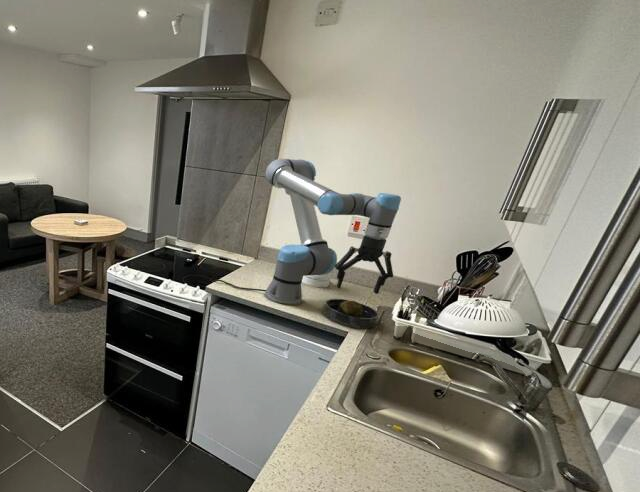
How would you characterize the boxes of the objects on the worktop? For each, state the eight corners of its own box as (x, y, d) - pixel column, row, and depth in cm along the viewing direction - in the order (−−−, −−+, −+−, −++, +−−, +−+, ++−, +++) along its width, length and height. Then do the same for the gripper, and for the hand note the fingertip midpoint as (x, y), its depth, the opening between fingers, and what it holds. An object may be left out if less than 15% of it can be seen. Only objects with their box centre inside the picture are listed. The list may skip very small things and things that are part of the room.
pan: (328, 324, 151) (331, 313, 149) (318, 305, 168) (320, 295, 167) (382, 333, 148) (386, 322, 146) (366, 312, 165) (369, 303, 163)
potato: (360, 315, 161) (366, 297, 158) (358, 325, 151) (365, 307, 148) (338, 309, 165) (343, 291, 162) (334, 319, 155) (340, 301, 151)
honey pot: (306, 276, 205) (315, 243, 198) (332, 284, 197) (342, 249, 190) (296, 281, 196) (306, 246, 189) (322, 289, 188) (333, 253, 181)
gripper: (342, 234, 143) (325, 287, 152) (416, 244, 139) (395, 298, 148) (337, 230, 150) (321, 281, 159) (408, 239, 146) (387, 291, 154)
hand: (356, 289), depth 153 cm, fingers open, 13 cm apart
